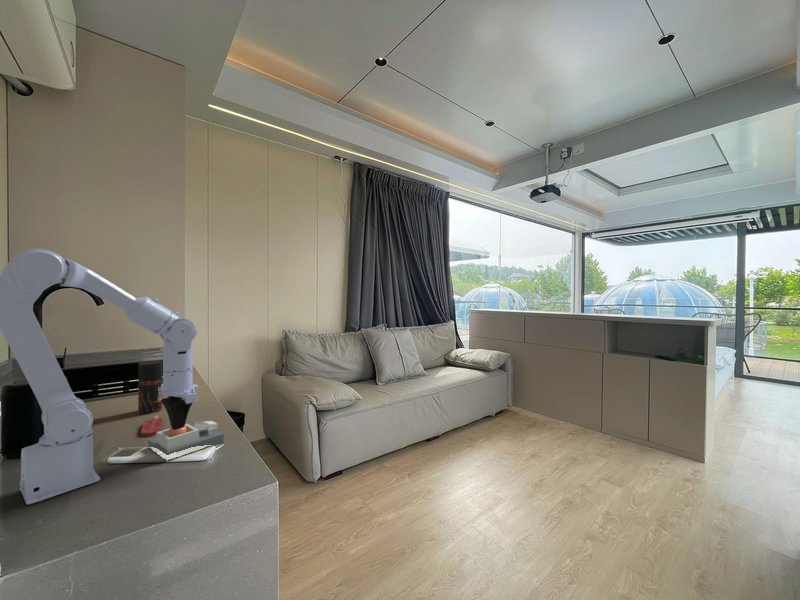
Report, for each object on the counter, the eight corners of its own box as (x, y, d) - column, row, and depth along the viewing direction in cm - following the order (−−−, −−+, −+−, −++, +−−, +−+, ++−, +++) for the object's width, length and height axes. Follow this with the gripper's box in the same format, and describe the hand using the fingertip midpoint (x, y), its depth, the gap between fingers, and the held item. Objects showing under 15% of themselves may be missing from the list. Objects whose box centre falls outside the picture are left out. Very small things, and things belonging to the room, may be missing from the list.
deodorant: (159, 412, 101) (158, 363, 101) (135, 415, 99) (135, 365, 98) (164, 406, 106) (164, 360, 106) (142, 408, 104) (142, 361, 104)
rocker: (200, 430, 79) (201, 424, 79) (193, 426, 81) (195, 421, 81) (217, 429, 82) (218, 423, 82) (210, 425, 84) (211, 420, 85)
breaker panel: (166, 461, 71) (166, 441, 71) (148, 447, 78) (148, 428, 77) (223, 442, 81) (223, 423, 81) (202, 431, 87) (202, 414, 87)
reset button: (172, 444, 74) (172, 431, 74) (167, 441, 76) (167, 428, 76) (188, 439, 77) (188, 427, 77) (182, 436, 79) (182, 423, 79)
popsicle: (165, 411, 98) (160, 430, 85) (165, 417, 98) (160, 436, 85) (147, 414, 96) (138, 433, 83) (146, 420, 96) (138, 440, 83)
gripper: (211, 370, 75) (211, 429, 75) (184, 362, 84) (184, 416, 84) (176, 376, 69) (176, 440, 70) (150, 367, 78) (150, 424, 78)
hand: (178, 427), depth 76 cm, fingers closed, pressing on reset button
